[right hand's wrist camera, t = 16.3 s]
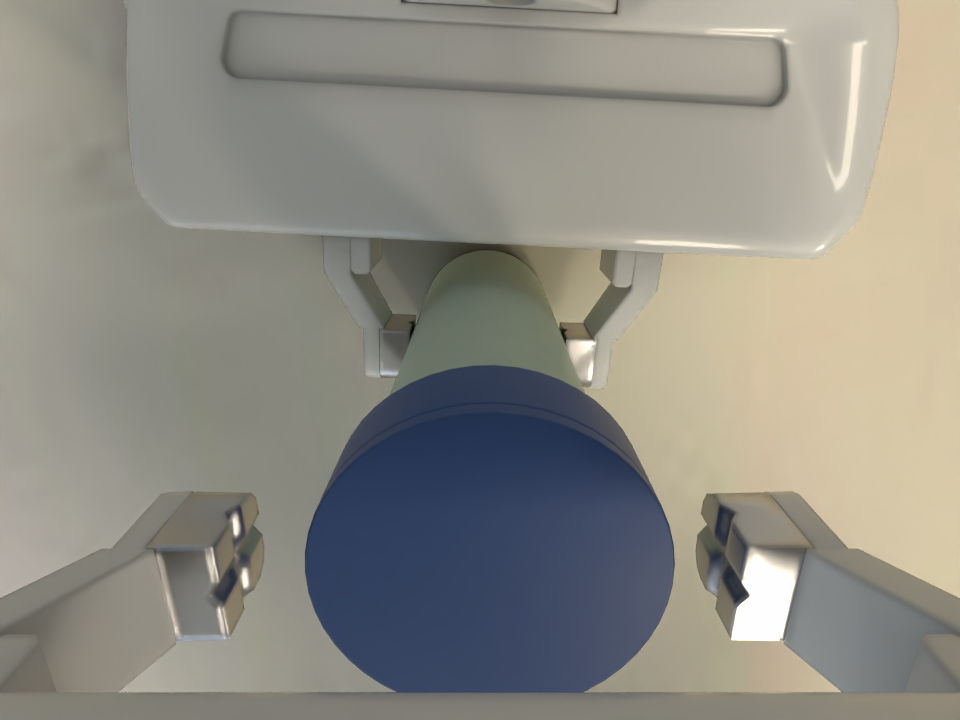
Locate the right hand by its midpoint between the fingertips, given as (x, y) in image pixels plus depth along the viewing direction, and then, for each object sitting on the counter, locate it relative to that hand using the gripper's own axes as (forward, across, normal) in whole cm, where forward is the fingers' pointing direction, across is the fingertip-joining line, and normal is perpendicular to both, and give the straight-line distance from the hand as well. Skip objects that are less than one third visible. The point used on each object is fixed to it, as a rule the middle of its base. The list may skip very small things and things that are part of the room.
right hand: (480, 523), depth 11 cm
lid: (-1, 0, 0) cm, 1 cm away
